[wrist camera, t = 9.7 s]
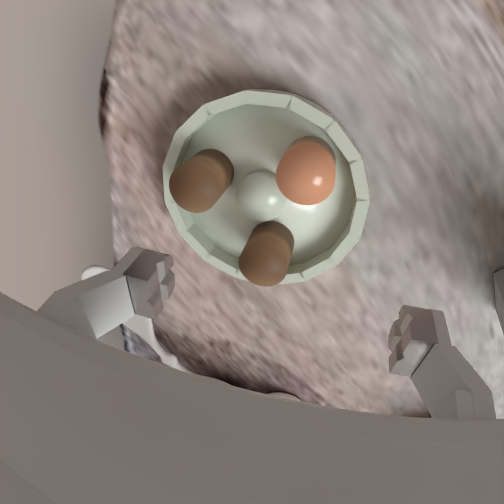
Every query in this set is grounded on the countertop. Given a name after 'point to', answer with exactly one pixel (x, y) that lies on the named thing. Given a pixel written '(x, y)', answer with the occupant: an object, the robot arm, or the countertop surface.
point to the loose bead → (307, 171)
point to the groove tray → (267, 151)
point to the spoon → (144, 329)
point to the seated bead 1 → (201, 180)
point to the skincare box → (499, 295)
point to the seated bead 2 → (267, 254)
